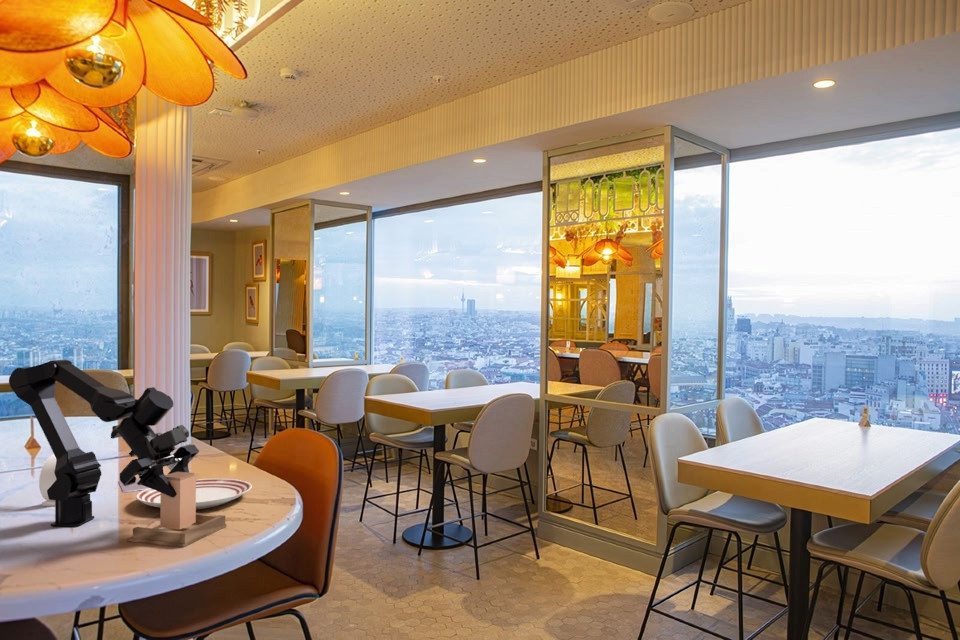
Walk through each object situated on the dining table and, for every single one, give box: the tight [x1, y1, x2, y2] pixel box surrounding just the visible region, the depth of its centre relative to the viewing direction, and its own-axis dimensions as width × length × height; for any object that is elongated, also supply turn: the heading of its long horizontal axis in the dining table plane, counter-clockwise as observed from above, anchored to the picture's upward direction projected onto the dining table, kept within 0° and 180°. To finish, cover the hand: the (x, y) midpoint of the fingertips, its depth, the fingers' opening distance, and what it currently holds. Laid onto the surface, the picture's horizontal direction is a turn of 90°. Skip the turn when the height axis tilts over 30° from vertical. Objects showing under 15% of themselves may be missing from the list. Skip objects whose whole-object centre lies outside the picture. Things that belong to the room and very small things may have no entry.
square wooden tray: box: [127, 512, 227, 548], centre depth 145 cm, size 14×14×3 cm
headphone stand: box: [38, 453, 57, 507], centre depth 168 cm, size 5×6×12 cm
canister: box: [159, 472, 197, 529], centre depth 145 cm, size 5×5×11 cm
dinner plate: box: [135, 478, 253, 511], centre depth 171 cm, size 27×27×3 cm
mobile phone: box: [118, 477, 149, 494], centre depth 186 cm, size 8×1×15 cm
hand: (183, 492), depth 144 cm, fingers closed on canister, 5 cm apart
